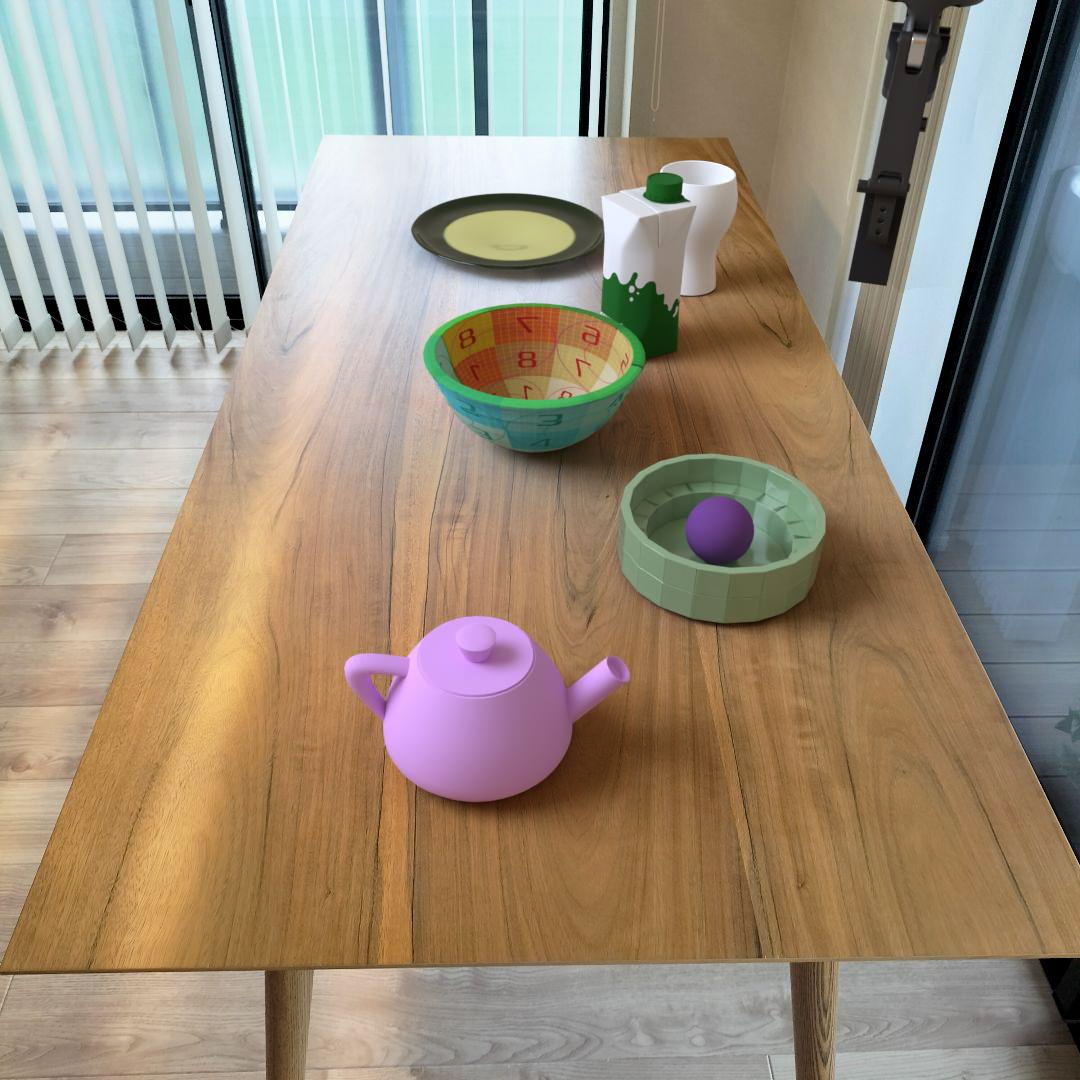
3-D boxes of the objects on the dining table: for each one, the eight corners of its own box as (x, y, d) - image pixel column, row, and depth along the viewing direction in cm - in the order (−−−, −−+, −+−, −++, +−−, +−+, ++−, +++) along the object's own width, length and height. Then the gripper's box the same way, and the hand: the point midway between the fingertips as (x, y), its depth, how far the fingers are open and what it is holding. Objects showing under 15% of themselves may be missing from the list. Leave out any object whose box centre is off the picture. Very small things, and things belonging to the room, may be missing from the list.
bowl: (387, 460, 110) (380, 373, 104) (488, 366, 126) (486, 286, 120) (588, 518, 103) (593, 428, 97) (668, 410, 119) (676, 327, 113)
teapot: (633, 813, 75) (644, 707, 69) (344, 818, 74) (328, 711, 68) (615, 673, 86) (624, 570, 80) (363, 676, 85) (351, 572, 79)
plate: (645, 259, 152) (646, 242, 150) (468, 299, 140) (467, 281, 139) (544, 196, 171) (544, 180, 169) (381, 227, 159) (380, 211, 158)
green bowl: (853, 569, 97) (867, 515, 94) (726, 658, 88) (735, 602, 84) (705, 484, 107) (712, 433, 104) (577, 556, 98) (580, 502, 94)
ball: (763, 559, 97) (772, 504, 94) (719, 586, 94) (728, 530, 90) (712, 530, 101) (719, 476, 97) (668, 555, 97) (674, 500, 94)
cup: (732, 301, 141) (747, 187, 132) (651, 301, 141) (660, 186, 132) (720, 268, 150) (733, 159, 140) (643, 267, 149) (652, 158, 140)
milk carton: (688, 352, 130) (706, 187, 118) (626, 369, 126) (638, 201, 114) (646, 323, 136) (659, 163, 123) (585, 339, 132) (593, 176, 120)
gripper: (893, -98, 80) (840, 187, 93) (866, -41, 61) (805, 306, 74) (1000, -91, 78) (931, 197, 91) (1006, -31, 59) (918, 322, 72)
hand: (874, 247), depth 83 cm, fingers open, 13 cm apart
